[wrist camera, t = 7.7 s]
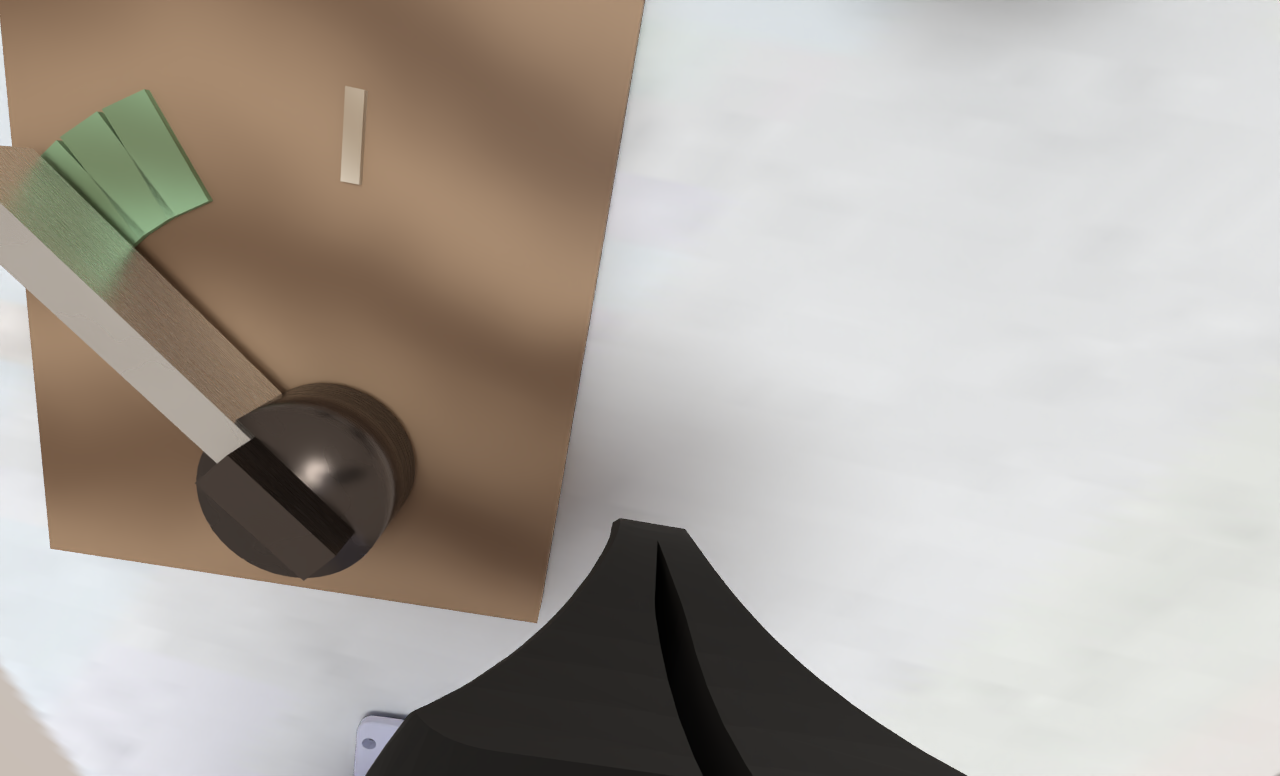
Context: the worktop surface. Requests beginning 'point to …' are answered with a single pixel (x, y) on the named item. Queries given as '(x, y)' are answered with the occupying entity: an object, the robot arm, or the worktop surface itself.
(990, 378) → the worktop surface
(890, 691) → the worktop surface
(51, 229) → the silver lever on base
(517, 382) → the dial board
